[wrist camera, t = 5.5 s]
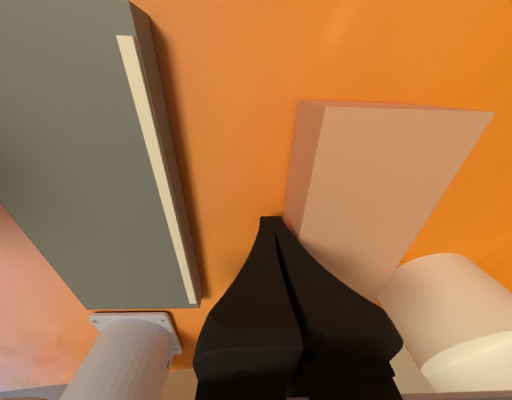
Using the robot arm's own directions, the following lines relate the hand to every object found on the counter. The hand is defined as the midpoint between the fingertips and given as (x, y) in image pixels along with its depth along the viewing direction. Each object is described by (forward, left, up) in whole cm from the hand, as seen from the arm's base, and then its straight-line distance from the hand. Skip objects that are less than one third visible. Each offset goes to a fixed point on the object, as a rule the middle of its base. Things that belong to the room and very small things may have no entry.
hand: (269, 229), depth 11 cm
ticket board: (0, +11, -2) cm, 11 cm away
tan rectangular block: (0, -4, -2) cm, 5 cm away
